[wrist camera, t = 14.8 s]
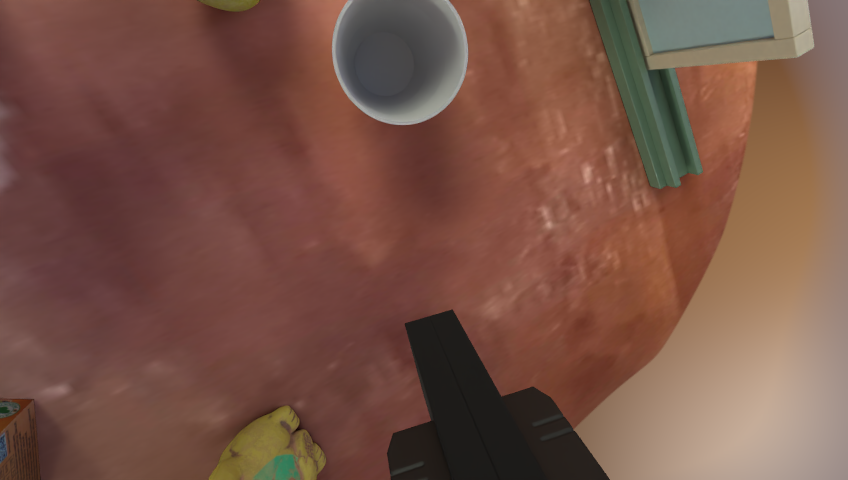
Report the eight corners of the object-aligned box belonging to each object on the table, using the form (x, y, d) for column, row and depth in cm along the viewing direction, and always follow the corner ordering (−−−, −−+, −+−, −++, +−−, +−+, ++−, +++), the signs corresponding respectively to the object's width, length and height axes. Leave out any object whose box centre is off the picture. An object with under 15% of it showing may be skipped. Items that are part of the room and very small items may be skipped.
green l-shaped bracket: (551, -113, 34) (745, -299, 18) (600, -141, 34) (837, -352, 18) (650, 186, 43) (832, 238, 28) (688, 164, 43) (891, 203, 28)
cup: (453, 60, 36) (494, 48, 27) (390, 137, 37) (410, 152, 28) (376, -16, 33) (393, -59, 24) (311, 70, 34) (302, 60, 25)
